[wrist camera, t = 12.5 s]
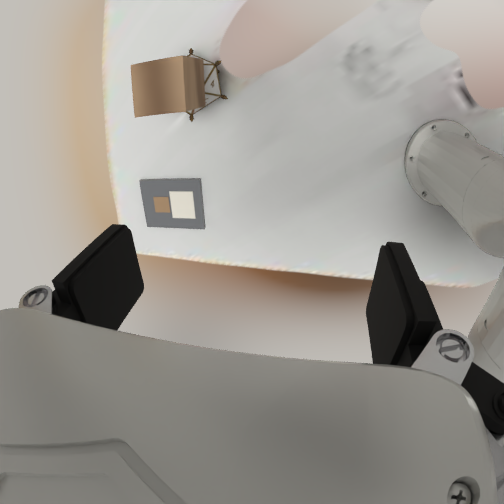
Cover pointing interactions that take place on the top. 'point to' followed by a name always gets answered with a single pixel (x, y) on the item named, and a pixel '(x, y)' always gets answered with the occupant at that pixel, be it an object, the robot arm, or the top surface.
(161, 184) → the card
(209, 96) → the game die
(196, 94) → the walnut block
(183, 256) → the top surface
